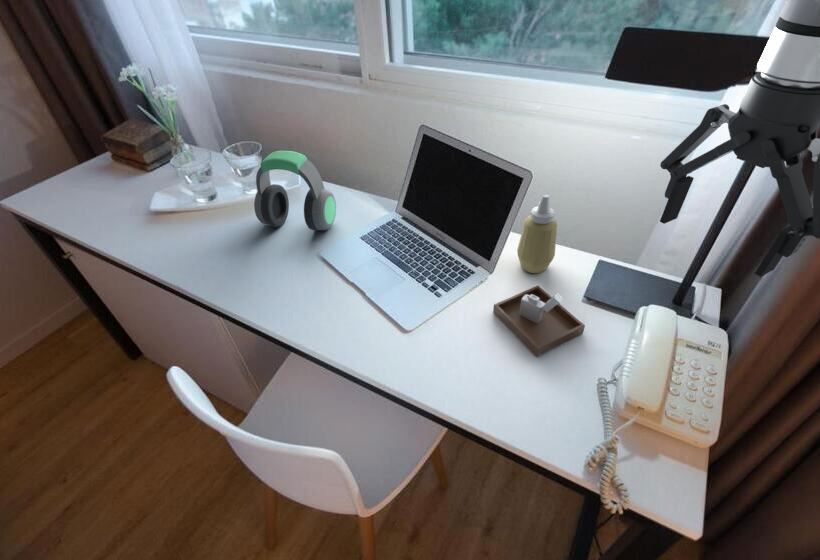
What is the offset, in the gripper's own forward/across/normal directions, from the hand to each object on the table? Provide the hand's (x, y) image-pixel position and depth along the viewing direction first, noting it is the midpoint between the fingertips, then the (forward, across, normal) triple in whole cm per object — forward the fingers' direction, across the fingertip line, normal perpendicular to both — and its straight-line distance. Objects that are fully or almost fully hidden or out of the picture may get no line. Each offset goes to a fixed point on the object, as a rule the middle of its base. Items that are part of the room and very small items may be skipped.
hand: (712, 243), depth 58 cm
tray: (+27, +18, +10) cm, 34 cm away
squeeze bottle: (+27, +32, -1) cm, 42 cm away
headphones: (+27, +77, +40) cm, 91 cm away
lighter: (+26, +18, +10) cm, 33 cm away
